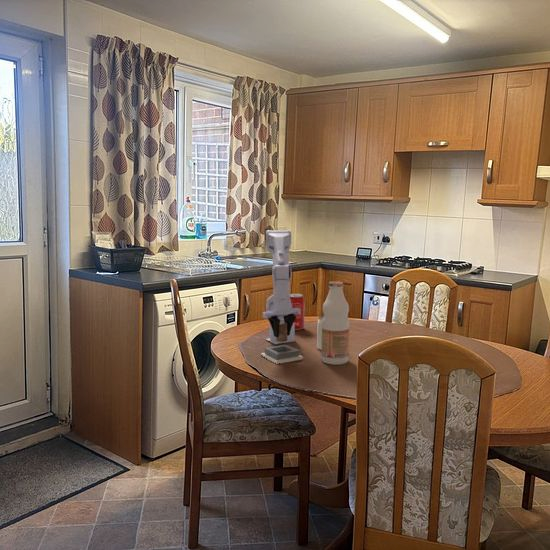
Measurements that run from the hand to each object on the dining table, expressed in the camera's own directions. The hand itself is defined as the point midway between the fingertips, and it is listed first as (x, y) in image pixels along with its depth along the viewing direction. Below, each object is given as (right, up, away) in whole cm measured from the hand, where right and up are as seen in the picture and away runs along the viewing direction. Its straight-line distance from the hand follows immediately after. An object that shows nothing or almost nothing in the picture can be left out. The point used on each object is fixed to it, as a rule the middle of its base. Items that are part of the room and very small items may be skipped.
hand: (281, 335), depth 192 cm
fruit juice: (+19, -9, -3) cm, 21 cm away
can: (+17, -6, +12) cm, 22 cm away
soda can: (+6, -2, +42) cm, 42 cm away
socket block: (0, -8, +1) cm, 8 cm away
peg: (0, -2, 0) cm, 2 cm away
